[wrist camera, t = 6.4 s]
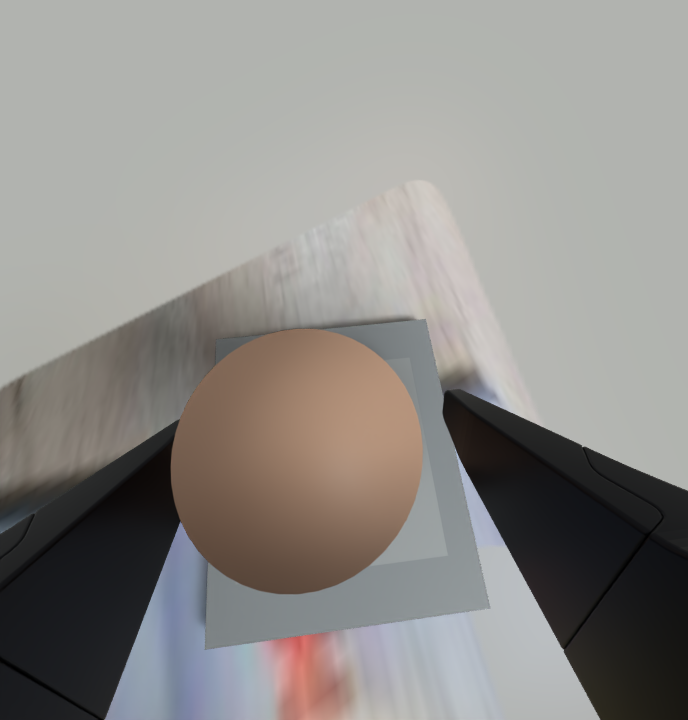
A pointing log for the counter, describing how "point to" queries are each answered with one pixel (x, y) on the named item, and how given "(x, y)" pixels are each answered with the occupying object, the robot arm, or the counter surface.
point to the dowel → (296, 461)
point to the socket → (406, 552)
